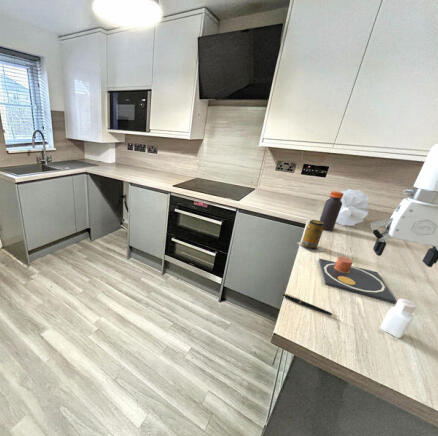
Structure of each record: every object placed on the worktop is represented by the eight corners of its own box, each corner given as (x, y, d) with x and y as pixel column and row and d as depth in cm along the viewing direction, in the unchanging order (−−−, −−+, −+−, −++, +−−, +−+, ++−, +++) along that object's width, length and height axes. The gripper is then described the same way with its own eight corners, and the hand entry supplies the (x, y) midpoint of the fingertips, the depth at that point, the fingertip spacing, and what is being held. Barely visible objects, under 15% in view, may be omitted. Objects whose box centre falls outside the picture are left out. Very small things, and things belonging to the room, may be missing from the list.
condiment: (309, 242, 110) (317, 218, 106) (325, 251, 102) (334, 226, 98) (296, 243, 109) (303, 219, 104) (311, 252, 101) (319, 226, 97)
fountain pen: (338, 317, 66) (339, 313, 66) (338, 320, 65) (339, 316, 65) (281, 295, 74) (282, 291, 74) (280, 297, 73) (282, 293, 73)
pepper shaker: (404, 333, 62) (421, 305, 58) (399, 339, 60) (416, 310, 56) (384, 323, 65) (399, 295, 61) (378, 328, 63) (394, 300, 59)
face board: (376, 274, 87) (377, 271, 87) (395, 303, 72) (396, 300, 72) (318, 260, 95) (319, 258, 95) (324, 284, 80) (325, 281, 80)
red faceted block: (347, 267, 88) (351, 258, 87) (350, 273, 85) (354, 264, 83) (333, 264, 90) (336, 255, 89) (335, 270, 87) (339, 260, 85)
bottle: (316, 228, 126) (328, 192, 119) (318, 224, 131) (330, 190, 123) (331, 232, 122) (344, 195, 114) (333, 228, 126) (346, 192, 119)
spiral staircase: (329, 230, 134) (335, 217, 151) (371, 227, 121) (372, 213, 138) (321, 200, 132) (328, 190, 149) (363, 193, 119) (365, 183, 136)
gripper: (389, 194, 57) (362, 255, 63) (499, 208, 49) (456, 276, 55) (380, 188, 63) (356, 244, 69) (477, 199, 55) (440, 262, 61)
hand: (401, 258), depth 62 cm, fingers open, 9 cm apart
